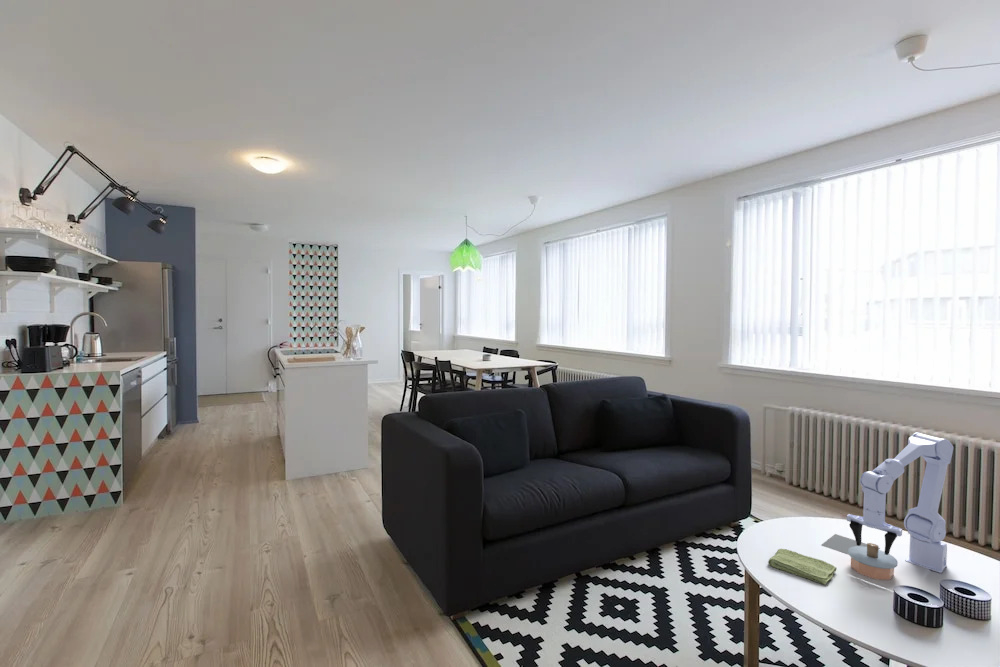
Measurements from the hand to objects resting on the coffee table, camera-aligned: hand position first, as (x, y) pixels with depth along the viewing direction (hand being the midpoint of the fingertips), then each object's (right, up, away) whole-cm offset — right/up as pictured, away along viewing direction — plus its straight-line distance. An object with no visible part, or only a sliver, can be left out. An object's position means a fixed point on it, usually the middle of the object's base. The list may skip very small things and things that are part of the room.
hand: (872, 549), depth 162 cm
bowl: (0, -8, 0) cm, 8 cm away
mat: (+4, -7, +16) cm, 18 cm away
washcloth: (-22, -8, +3) cm, 24 cm away
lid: (0, -3, 0) cm, 3 cm away
